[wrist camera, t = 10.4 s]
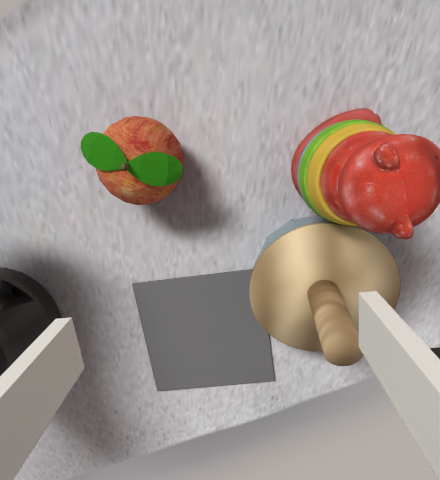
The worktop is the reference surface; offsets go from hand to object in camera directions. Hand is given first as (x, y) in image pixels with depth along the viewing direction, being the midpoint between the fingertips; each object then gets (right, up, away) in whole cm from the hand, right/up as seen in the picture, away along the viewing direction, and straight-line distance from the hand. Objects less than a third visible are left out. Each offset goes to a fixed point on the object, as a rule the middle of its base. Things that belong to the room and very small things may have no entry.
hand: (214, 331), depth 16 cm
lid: (+11, -1, +20) cm, 23 cm away
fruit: (-8, +13, +24) cm, 28 cm away
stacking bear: (+13, +12, +23) cm, 29 cm away
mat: (-2, -8, +29) cm, 30 cm away
